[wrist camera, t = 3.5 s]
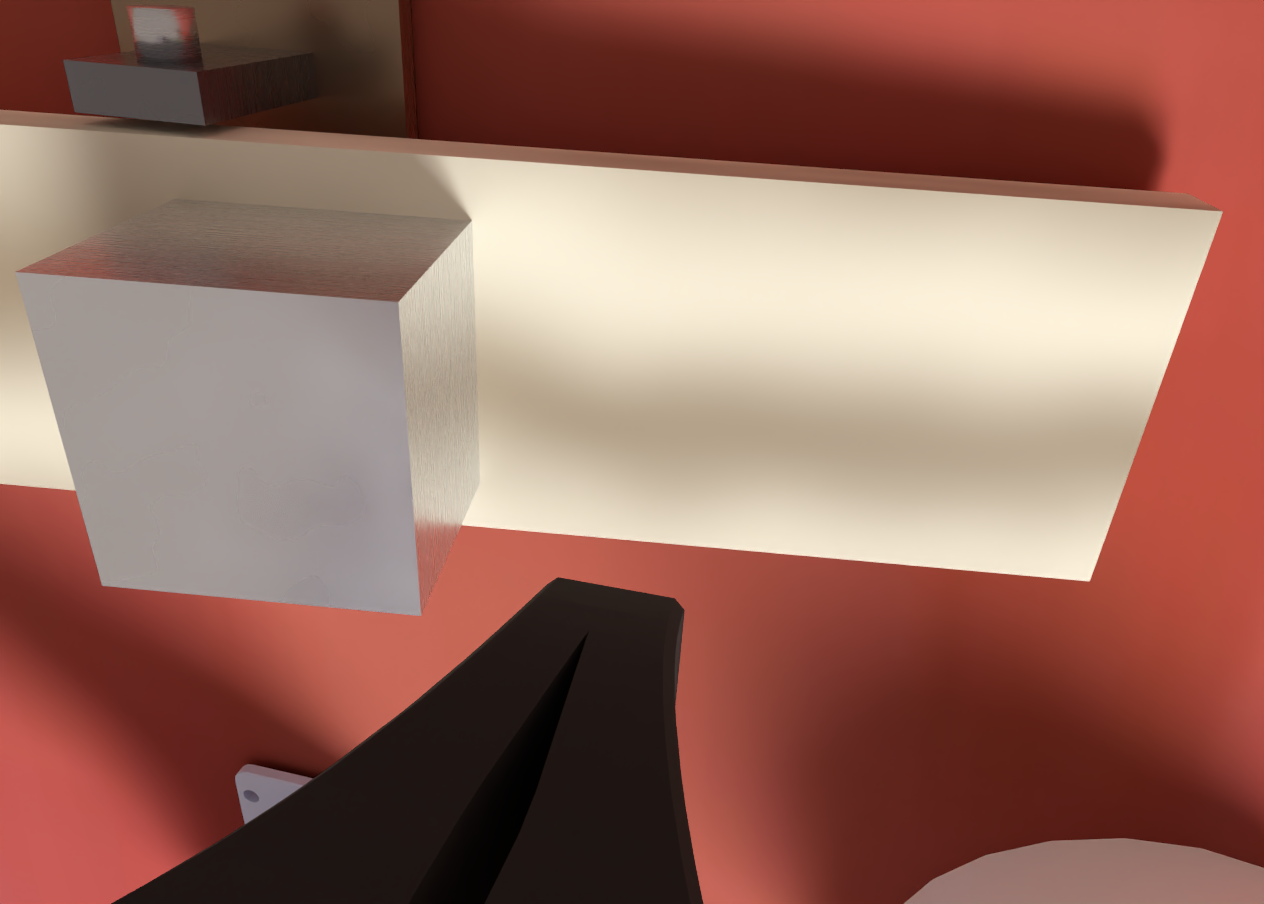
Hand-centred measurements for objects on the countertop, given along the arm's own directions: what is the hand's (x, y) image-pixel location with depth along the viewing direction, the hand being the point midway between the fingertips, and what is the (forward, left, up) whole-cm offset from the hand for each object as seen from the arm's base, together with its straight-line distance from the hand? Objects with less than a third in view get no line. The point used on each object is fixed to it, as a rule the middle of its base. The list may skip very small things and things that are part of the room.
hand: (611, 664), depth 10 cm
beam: (0, +8, -8) cm, 11 cm away
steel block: (0, +7, -7) cm, 9 cm away
